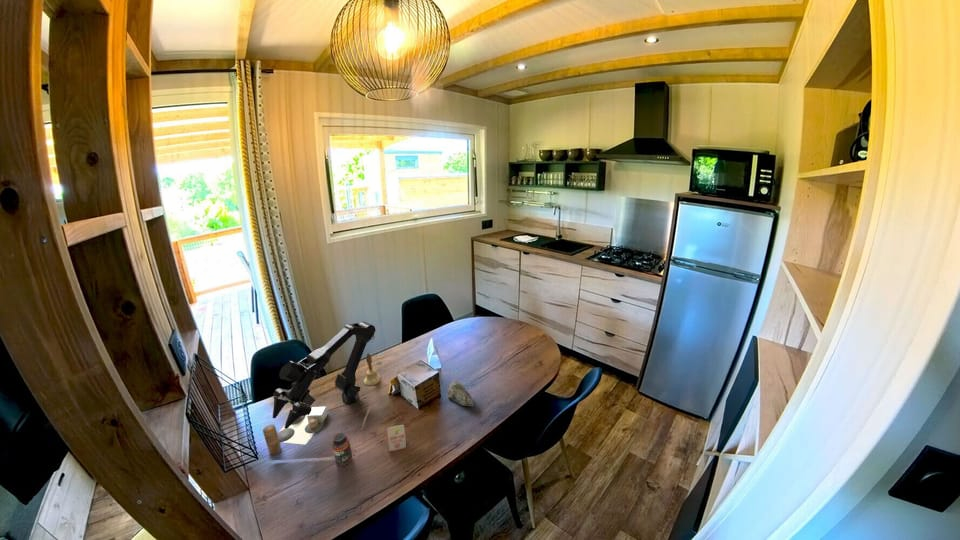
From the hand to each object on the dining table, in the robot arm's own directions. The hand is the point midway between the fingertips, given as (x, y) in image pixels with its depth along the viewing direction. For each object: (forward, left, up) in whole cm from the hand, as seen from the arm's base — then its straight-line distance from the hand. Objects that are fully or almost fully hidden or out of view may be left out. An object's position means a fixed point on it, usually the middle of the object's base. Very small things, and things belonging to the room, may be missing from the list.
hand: (279, 423), depth 127 cm
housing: (-5, -14, -11) cm, 19 cm away
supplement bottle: (-26, +3, -12) cm, 29 cm away
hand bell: (-17, -43, -12) cm, 48 cm away
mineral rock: (-65, -32, -12) cm, 73 cm away
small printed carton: (-44, -5, -12) cm, 46 cm away
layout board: (-1, -9, -12) cm, 15 cm away
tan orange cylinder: (+2, +3, -12) cm, 12 cm away
